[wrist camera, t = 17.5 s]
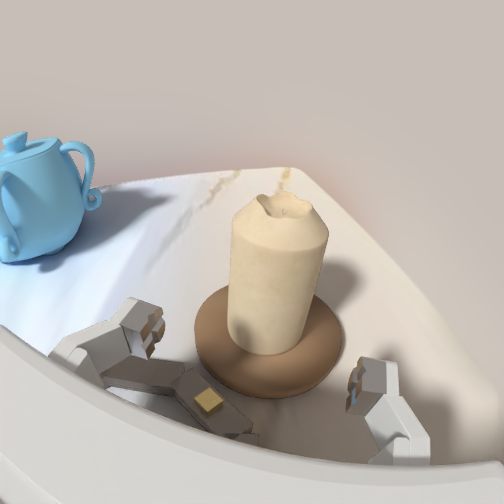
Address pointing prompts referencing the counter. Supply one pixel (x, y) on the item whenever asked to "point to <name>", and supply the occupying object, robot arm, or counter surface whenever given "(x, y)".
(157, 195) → the counter surface
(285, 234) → the candle
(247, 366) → the coaster
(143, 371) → the collar
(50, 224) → the decorative pot
